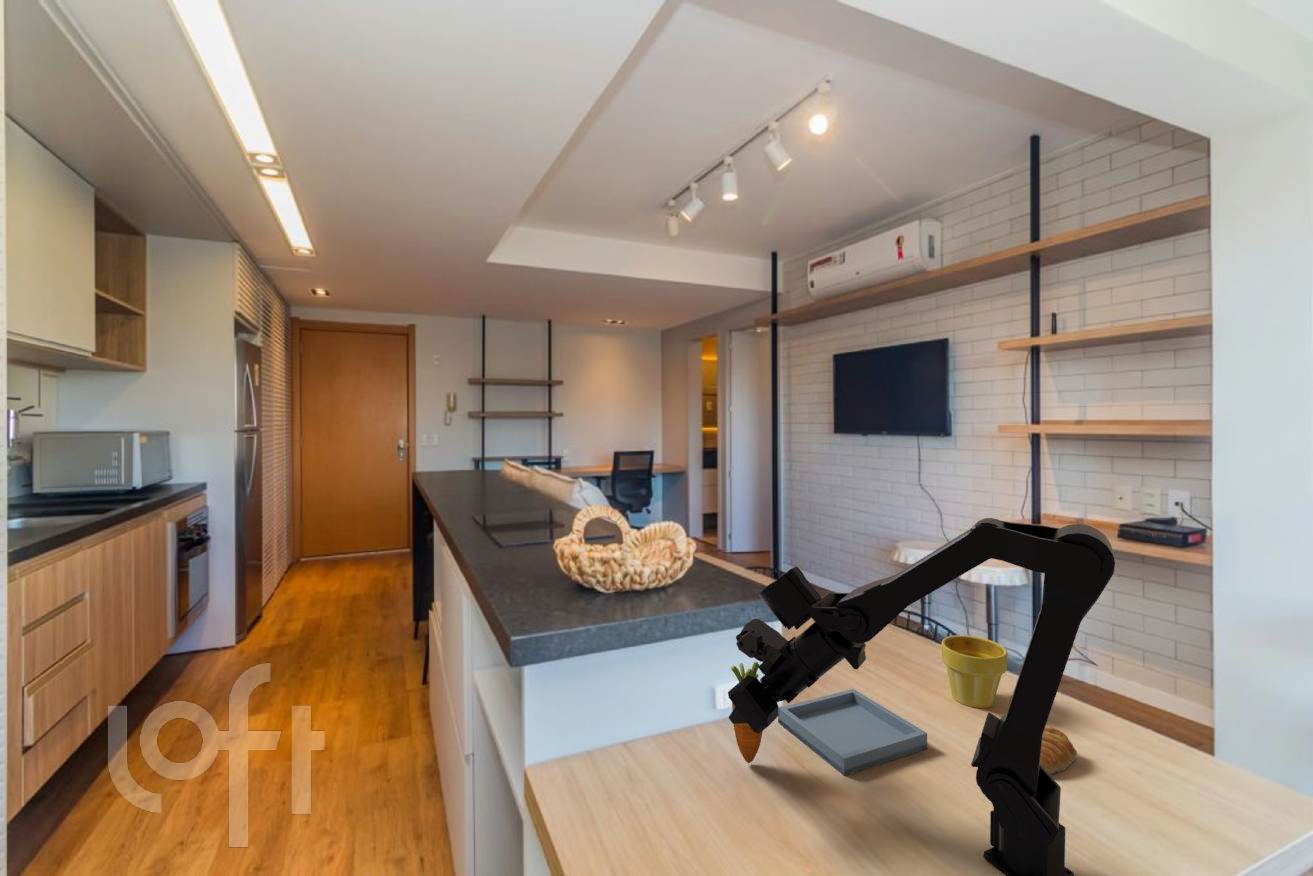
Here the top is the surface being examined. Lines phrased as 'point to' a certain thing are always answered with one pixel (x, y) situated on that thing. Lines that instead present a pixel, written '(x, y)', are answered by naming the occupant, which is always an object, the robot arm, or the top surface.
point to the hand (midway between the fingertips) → (739, 712)
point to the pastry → (1056, 751)
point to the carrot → (744, 733)
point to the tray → (851, 730)
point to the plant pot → (973, 668)
